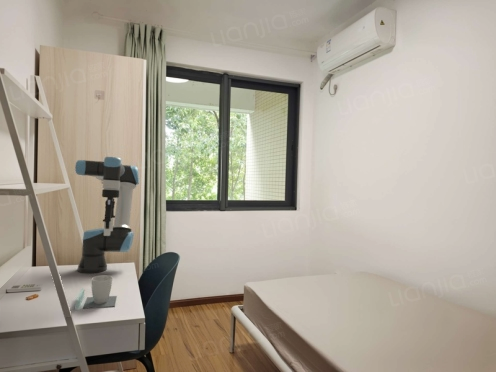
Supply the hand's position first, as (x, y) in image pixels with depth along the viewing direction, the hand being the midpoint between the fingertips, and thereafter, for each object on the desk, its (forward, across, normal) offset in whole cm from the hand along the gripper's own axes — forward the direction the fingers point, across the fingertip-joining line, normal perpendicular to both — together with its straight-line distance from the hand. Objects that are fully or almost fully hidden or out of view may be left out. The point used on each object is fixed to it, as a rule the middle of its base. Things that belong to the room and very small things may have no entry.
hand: (108, 233), depth 153 cm
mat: (+27, +18, 0) cm, 32 cm away
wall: (+27, +18, -8) cm, 33 cm away
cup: (+26, +18, 0) cm, 32 cm away
